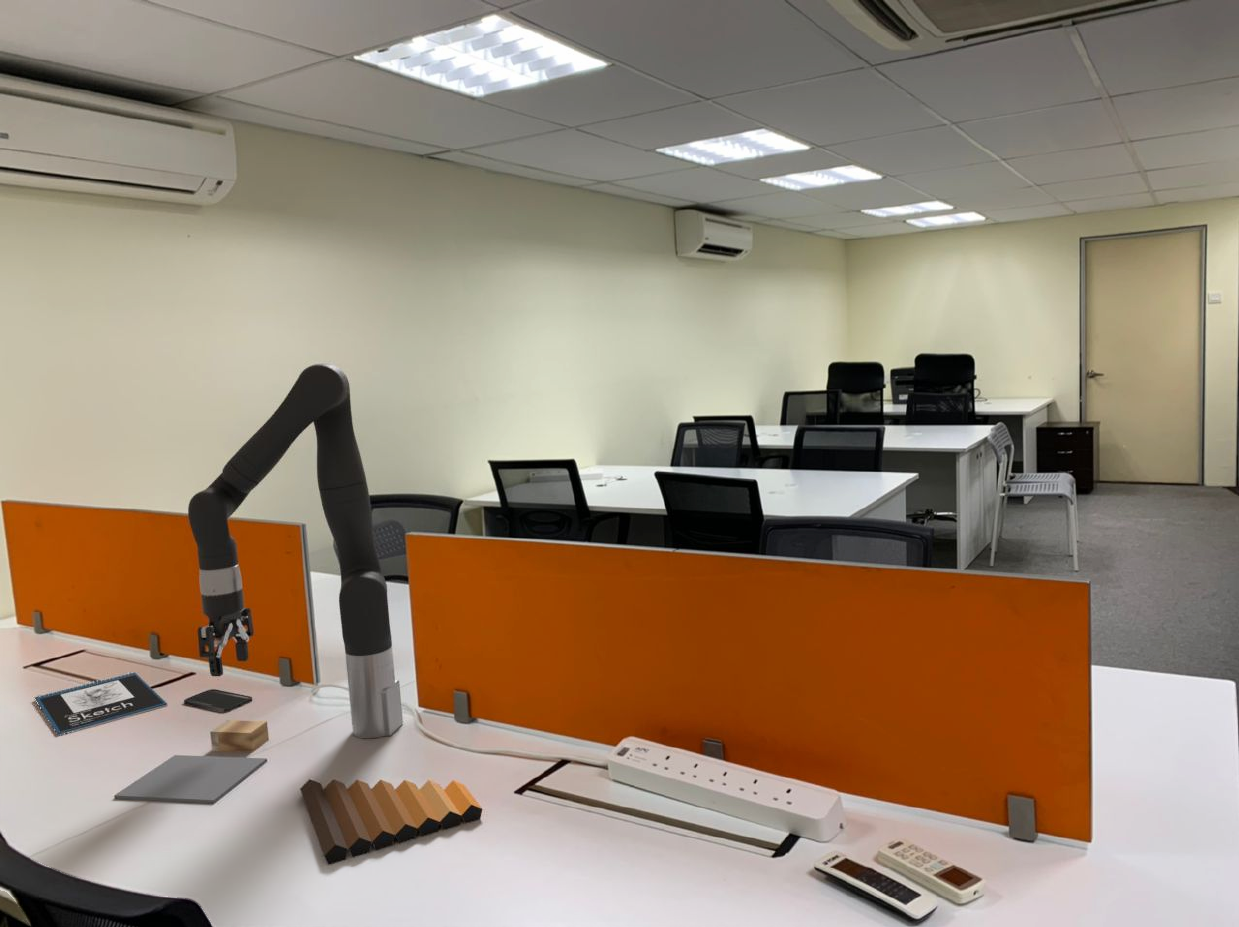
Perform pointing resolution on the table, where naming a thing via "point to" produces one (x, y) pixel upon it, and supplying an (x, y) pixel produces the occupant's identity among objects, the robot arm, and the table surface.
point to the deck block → (239, 736)
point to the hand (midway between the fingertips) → (230, 667)
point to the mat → (192, 779)
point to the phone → (218, 700)
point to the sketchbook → (98, 702)
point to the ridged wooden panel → (382, 813)
